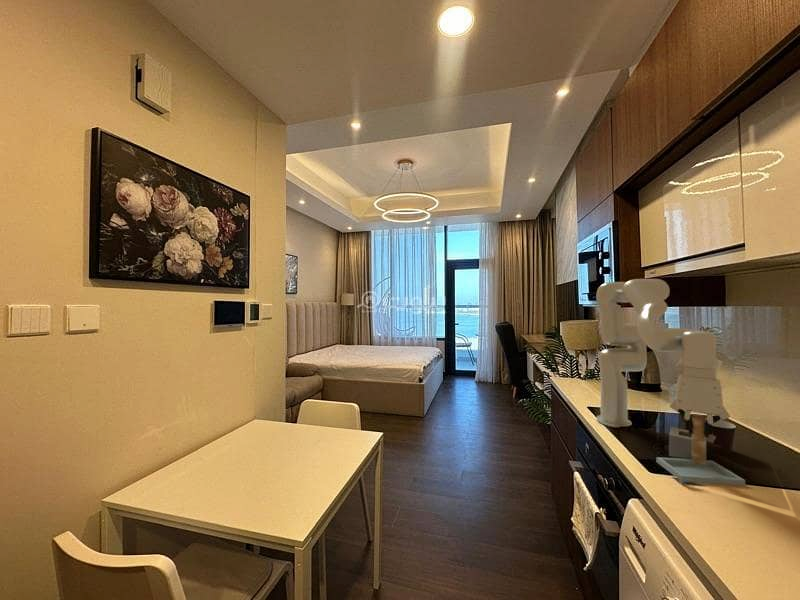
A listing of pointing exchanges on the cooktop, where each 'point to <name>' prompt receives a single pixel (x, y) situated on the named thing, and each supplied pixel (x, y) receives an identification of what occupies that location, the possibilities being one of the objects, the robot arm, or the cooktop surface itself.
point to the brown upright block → (698, 439)
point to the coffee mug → (721, 437)
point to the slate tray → (699, 472)
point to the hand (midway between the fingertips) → (698, 433)
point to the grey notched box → (681, 443)
